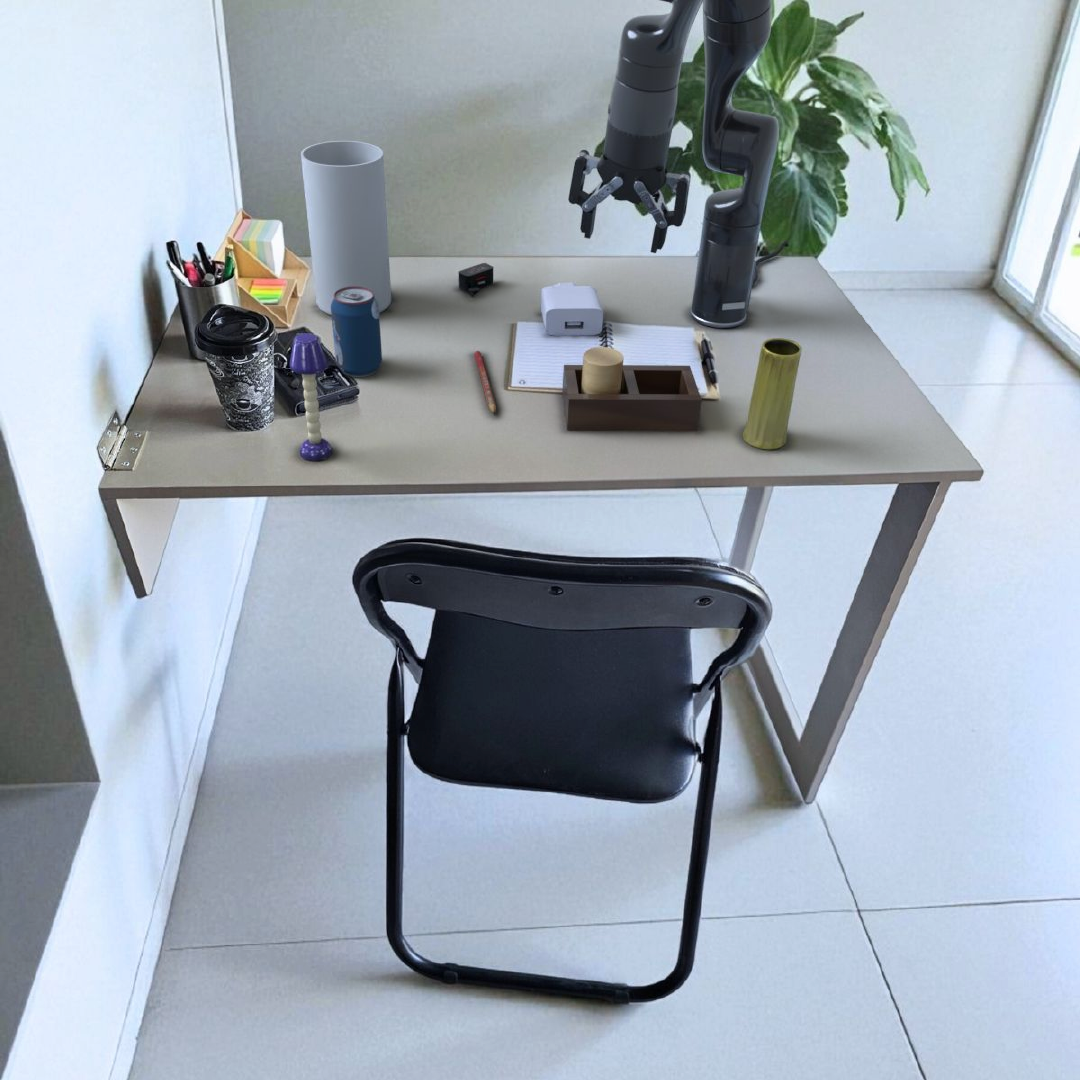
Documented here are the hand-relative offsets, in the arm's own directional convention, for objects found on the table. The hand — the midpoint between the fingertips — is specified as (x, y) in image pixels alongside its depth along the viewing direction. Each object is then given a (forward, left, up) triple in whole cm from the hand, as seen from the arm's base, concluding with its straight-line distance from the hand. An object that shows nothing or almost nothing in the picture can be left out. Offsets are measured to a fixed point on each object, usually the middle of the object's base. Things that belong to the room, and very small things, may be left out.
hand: (621, 242), depth 131 cm
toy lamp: (+33, -23, -27) cm, 48 cm away
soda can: (+14, -37, -27) cm, 48 cm away
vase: (-13, +18, -27) cm, 35 cm away
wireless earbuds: (-19, -45, -27) cm, 56 cm away
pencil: (+4, -20, -27) cm, 34 cm away
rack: (-5, 0, -27) cm, 27 cm away
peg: (-2, -3, -27) cm, 27 cm away
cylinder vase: (0, -55, -27) cm, 61 cm away
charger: (-23, -27, -27) cm, 45 cm away
